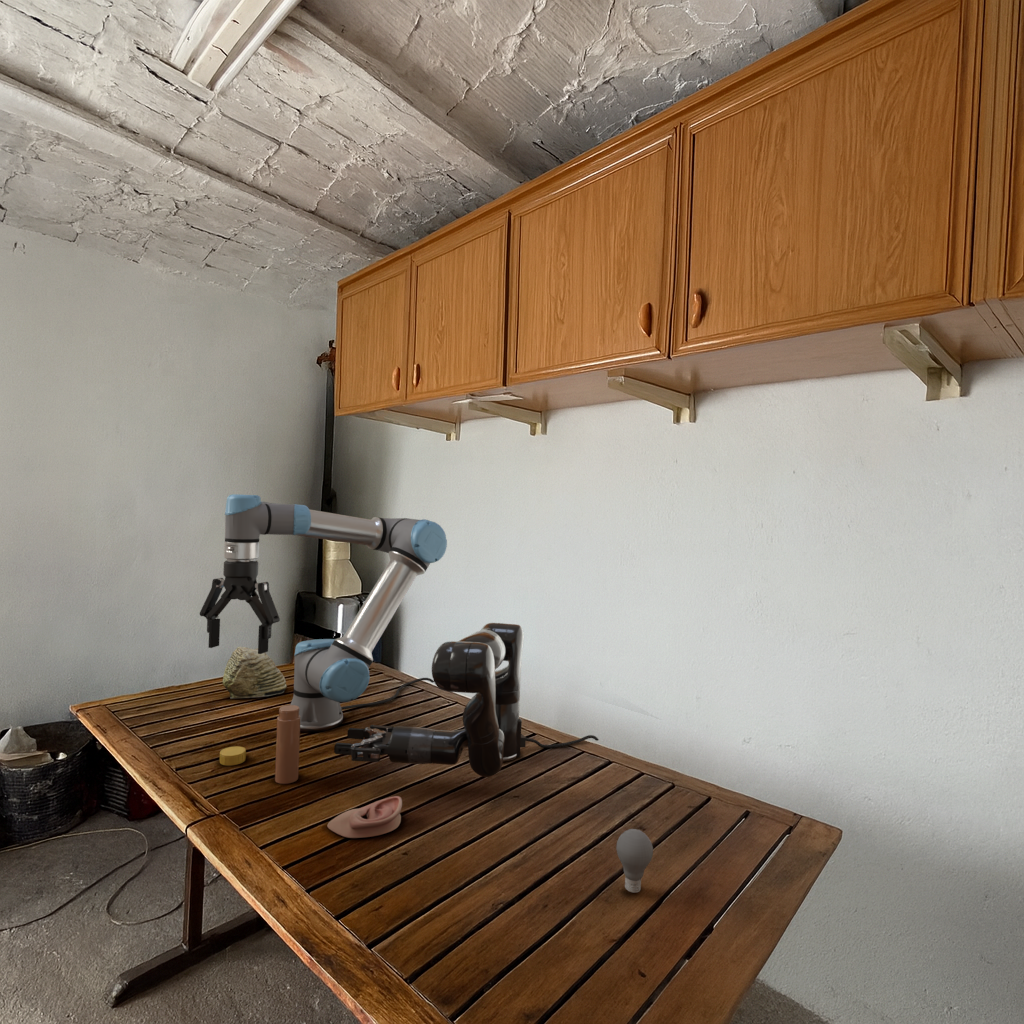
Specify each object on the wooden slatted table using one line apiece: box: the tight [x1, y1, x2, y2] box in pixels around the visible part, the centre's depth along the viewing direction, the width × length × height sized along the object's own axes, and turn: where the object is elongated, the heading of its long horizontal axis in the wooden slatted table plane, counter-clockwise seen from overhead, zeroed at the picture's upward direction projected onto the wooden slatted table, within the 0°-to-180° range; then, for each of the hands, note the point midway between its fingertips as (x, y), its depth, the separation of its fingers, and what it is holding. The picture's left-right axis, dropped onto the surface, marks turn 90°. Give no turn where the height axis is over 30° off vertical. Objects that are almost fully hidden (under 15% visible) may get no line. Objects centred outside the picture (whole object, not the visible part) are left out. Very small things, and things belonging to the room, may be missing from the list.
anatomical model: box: [327, 795, 403, 839], centre depth 123 cm, size 13×4×12 cm
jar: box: [274, 704, 301, 785], centre depth 141 cm, size 5×5×16 cm
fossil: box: [222, 646, 288, 699], centre depth 198 cm, size 9×18×15 cm, turn 132°
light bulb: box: [615, 828, 654, 894], centre depth 106 cm, size 6×6×10 cm
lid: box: [219, 745, 247, 767], centre depth 150 cm, size 6×6×2 cm
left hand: (238, 649), depth 149 cm, fingers open, 13 cm apart
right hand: (341, 740), depth 141 cm, fingers open, 8 cm apart
